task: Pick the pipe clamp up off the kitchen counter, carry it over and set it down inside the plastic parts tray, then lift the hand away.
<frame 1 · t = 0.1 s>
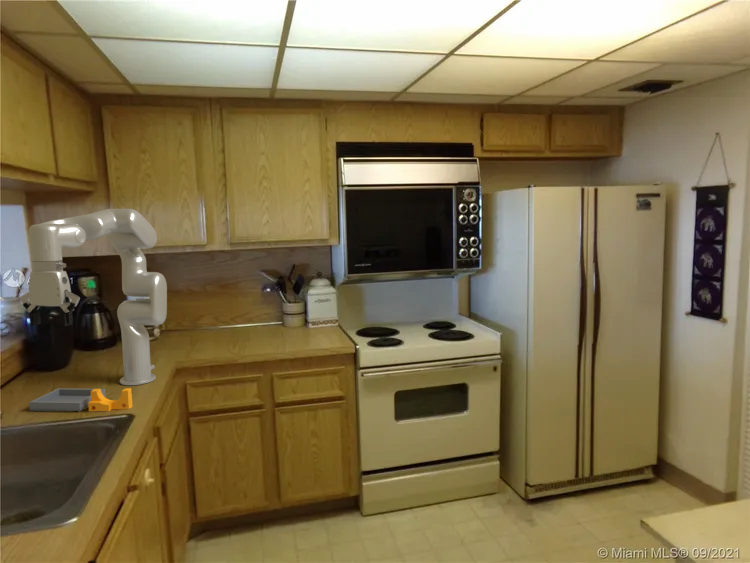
hand: (51, 325, 146), 31 cm above the countertop, tool pointing down, fingers open, 9 cm apart
parts tray: (69, 403, 169), on the countertop
pipe clamp: (111, 410, 164), on the countertop
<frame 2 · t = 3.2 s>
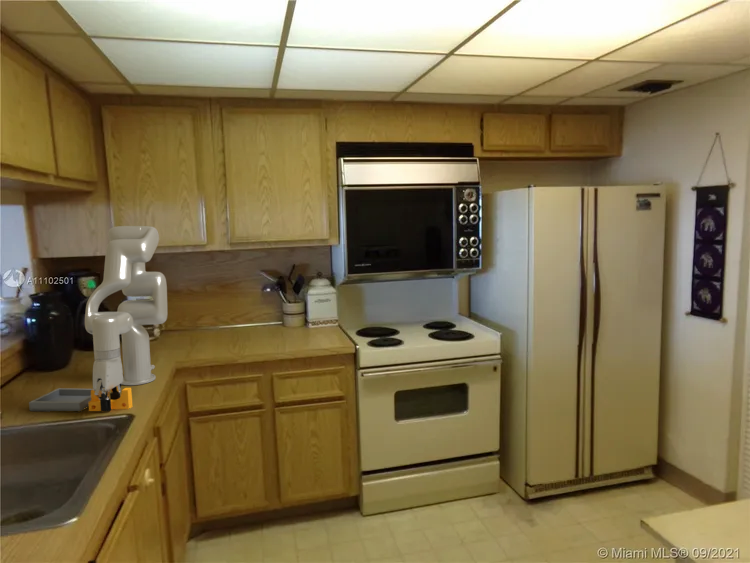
hand: (111, 407, 164), 1 cm above the countertop, tool pointing down, fingers closed on pipe clamp, 4 cm apart
pipe clamp: (111, 409, 164), on the countertop, touching gripper
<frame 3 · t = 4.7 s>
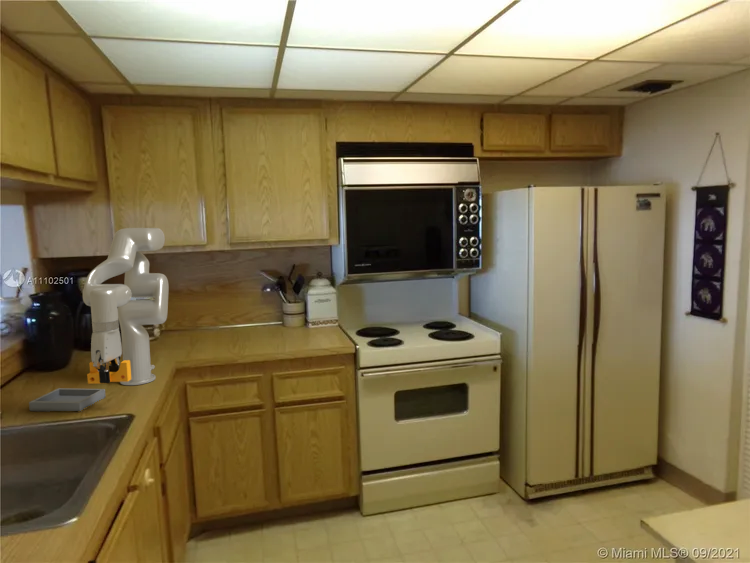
hand: (109, 379, 164), 10 cm above the countertop, tool pointing down, fingers closed on pipe clamp, 4 cm apart
pipe clamp: (110, 381, 164), point 9 cm above the countertop, touching gripper
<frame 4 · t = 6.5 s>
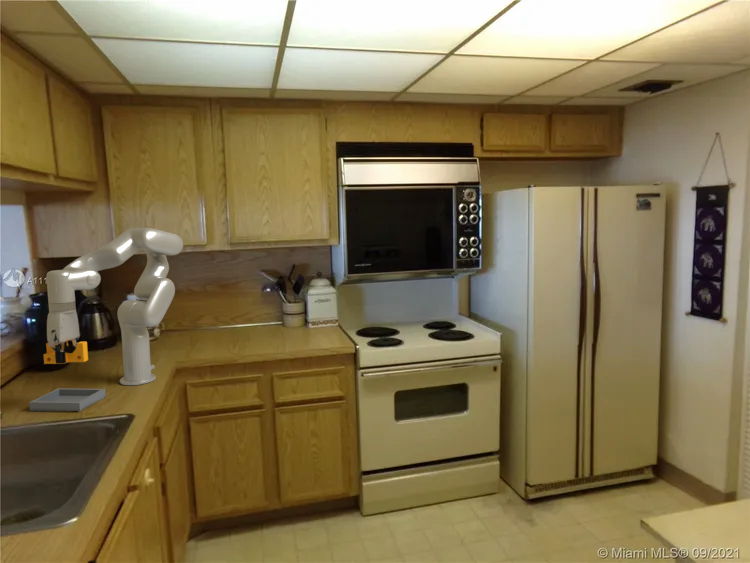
hand: (66, 360, 167), 15 cm above the countertop, tool pointing down, fingers closed on pipe clamp, 4 cm apart
pipe clamp: (66, 362, 167), point 14 cm above the countertop, touching gripper
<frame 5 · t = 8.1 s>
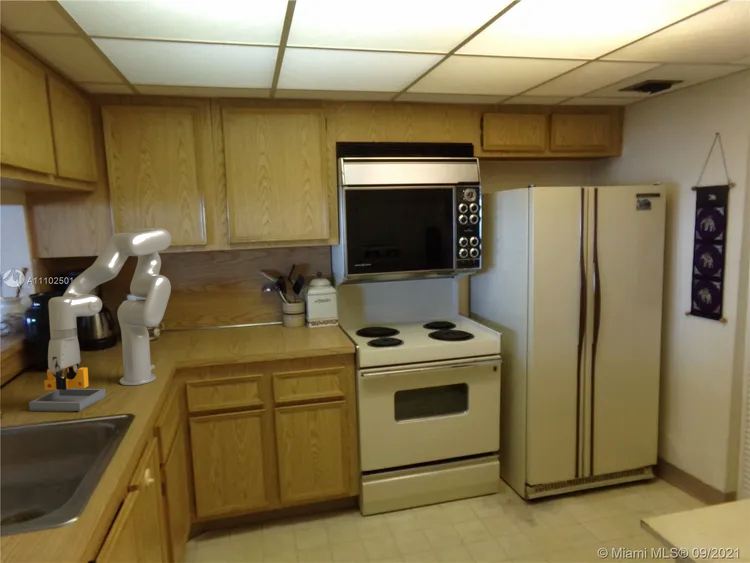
hand: (67, 386, 168), 6 cm above the countertop, tool pointing down, fingers closed on pipe clamp, 4 cm apart
pipe clamp: (67, 388, 168), point 5 cm above the countertop, touching gripper
when the fingers open (3 cm above the countertop, at t = 9.5 s): pipe clamp drops 1 cm, resting on parts tray.
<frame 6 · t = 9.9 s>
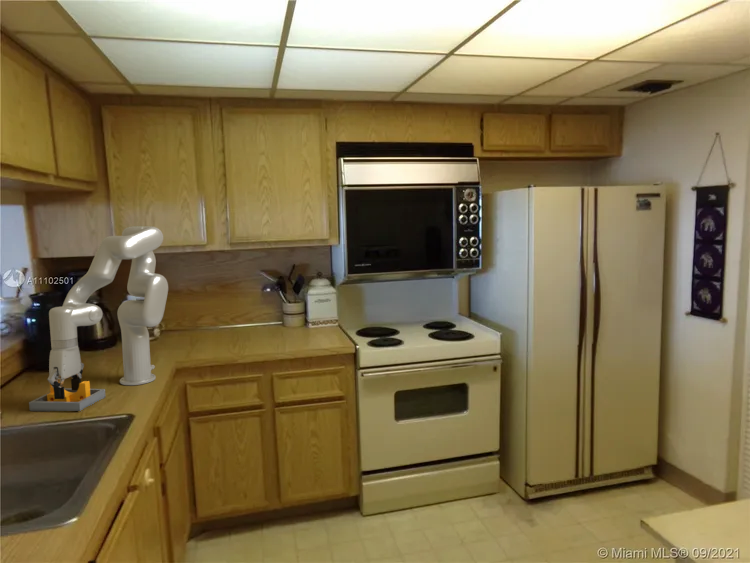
hand: (68, 394, 169), 3 cm above the countertop, tool pointing down, fingers open, 8 cm apart
pipe clamp: (69, 402, 169), point 1 cm above the countertop, touching parts tray
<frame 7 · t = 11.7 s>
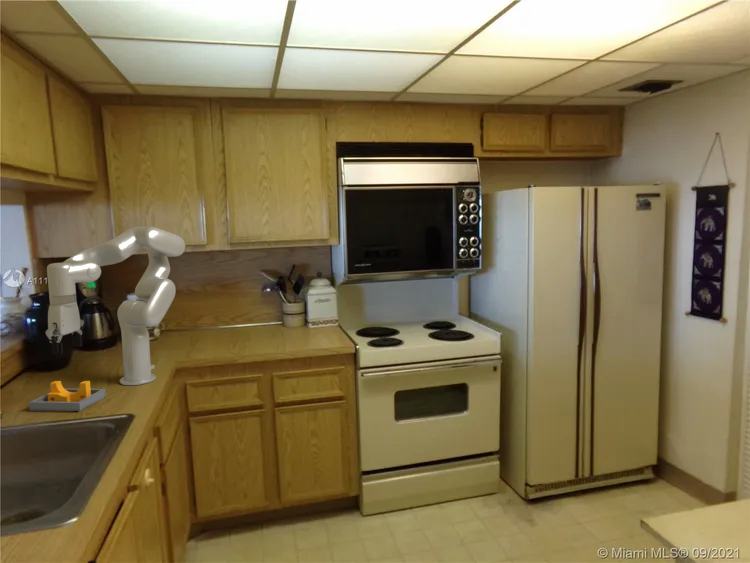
hand: (67, 350, 168), 19 cm above the countertop, tool pointing down, fingers open, 9 cm apart
nothing on the countertop moved.
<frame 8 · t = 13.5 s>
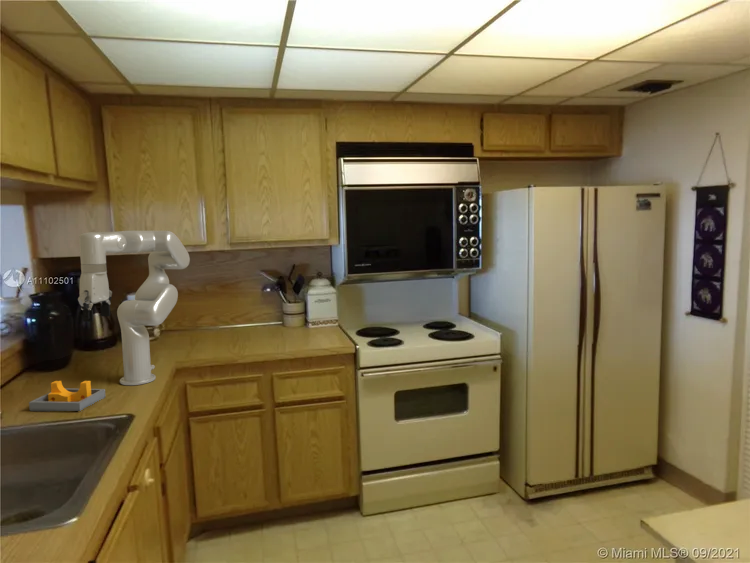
hand: (97, 318, 171), 28 cm above the countertop, tool pointing down, fingers open, 9 cm apart
nothing on the countertop moved.
at the end: pipe clamp inside the target area on the parts tray (0.6 cm from its centre), point 0.6 cm above the parts tray's base; the gripper is holding nothing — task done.
